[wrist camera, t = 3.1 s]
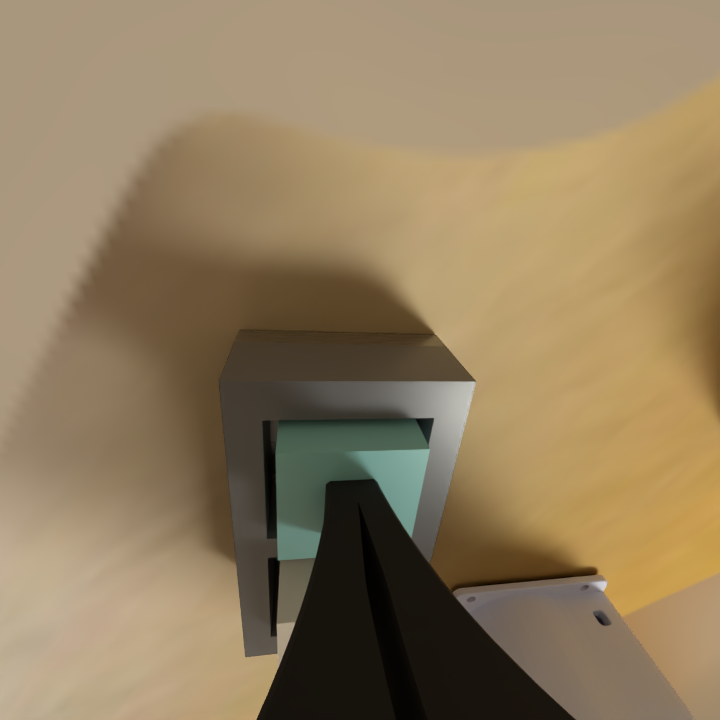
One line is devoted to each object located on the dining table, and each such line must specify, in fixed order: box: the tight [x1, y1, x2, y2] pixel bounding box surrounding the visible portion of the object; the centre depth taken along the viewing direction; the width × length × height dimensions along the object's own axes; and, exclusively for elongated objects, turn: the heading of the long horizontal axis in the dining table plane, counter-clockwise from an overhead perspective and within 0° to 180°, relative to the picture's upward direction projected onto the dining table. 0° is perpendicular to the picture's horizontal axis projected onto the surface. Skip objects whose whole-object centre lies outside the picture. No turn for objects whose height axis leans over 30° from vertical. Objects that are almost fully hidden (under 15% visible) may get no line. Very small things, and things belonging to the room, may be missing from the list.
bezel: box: [219, 342, 476, 657], centre depth 13 cm, size 7×12×2 cm, turn 175°
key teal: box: [276, 418, 430, 561], centre depth 11 cm, size 4×4×2 cm
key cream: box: [277, 558, 315, 668], centre depth 13 cm, size 4×4×2 cm
